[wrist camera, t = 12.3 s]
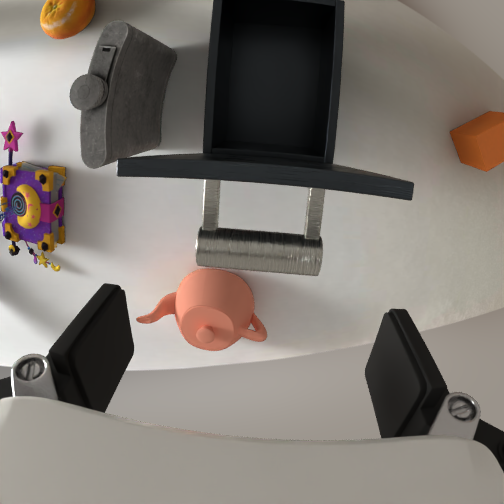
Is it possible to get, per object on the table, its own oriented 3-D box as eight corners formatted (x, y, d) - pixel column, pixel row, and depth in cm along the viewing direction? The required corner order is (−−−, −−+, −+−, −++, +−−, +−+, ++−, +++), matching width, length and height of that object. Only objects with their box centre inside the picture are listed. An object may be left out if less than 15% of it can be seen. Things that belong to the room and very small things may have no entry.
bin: (228, 19, 34) (214, -10, 24) (327, 26, 34) (344, 0, 24) (219, 146, 41) (202, 156, 31) (317, 154, 41) (332, 167, 31)
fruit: (70, -27, 27) (40, -13, 23) (114, -9, 31) (88, 6, 27) (52, 15, 33) (23, 35, 29) (91, 33, 37) (67, 54, 33)
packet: (449, 131, 38) (475, 136, 31) (489, 111, 35) (517, 113, 29) (460, 162, 39) (486, 172, 33) (499, 140, 37) (526, 147, 30)
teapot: (260, 338, 53) (257, 379, 44) (154, 317, 53) (136, 353, 44) (276, 275, 48) (276, 311, 39) (157, 252, 48) (134, 282, 39)
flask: (135, 146, 41) (60, 170, 25) (153, 47, 36) (85, 15, 19) (159, 150, 42) (93, 175, 25) (179, 49, 36) (120, 13, 19)
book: (14, 252, 50) (-26, 282, 39) (12, 119, 40) (-39, 128, 28) (72, 270, 50) (33, 307, 39) (76, 122, 40) (23, 130, 29)
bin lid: (116, 158, 13) (119, 275, 14) (414, 182, 12) (392, 299, 14) (201, 153, 31) (199, 207, 32) (333, 163, 30) (327, 218, 32)
